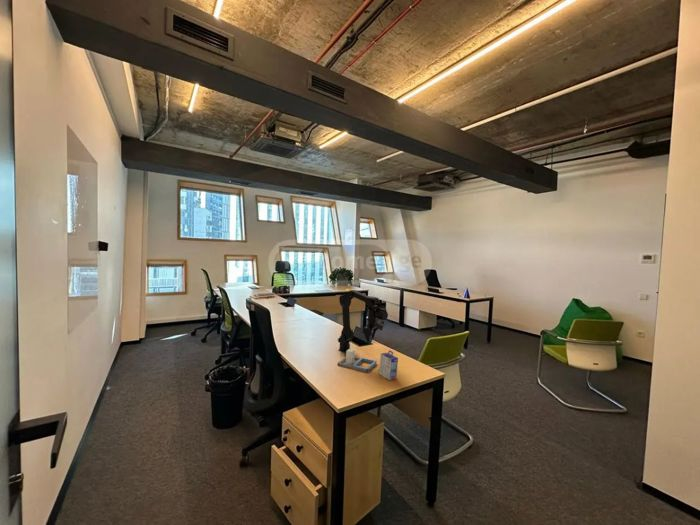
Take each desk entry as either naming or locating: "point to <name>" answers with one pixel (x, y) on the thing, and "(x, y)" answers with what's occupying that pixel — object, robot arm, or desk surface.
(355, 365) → the frame
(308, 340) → the desk surface
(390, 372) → the ink cartridge box
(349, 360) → the cord plug
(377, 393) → the desk surface
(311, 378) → the desk surface
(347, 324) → the robot arm
